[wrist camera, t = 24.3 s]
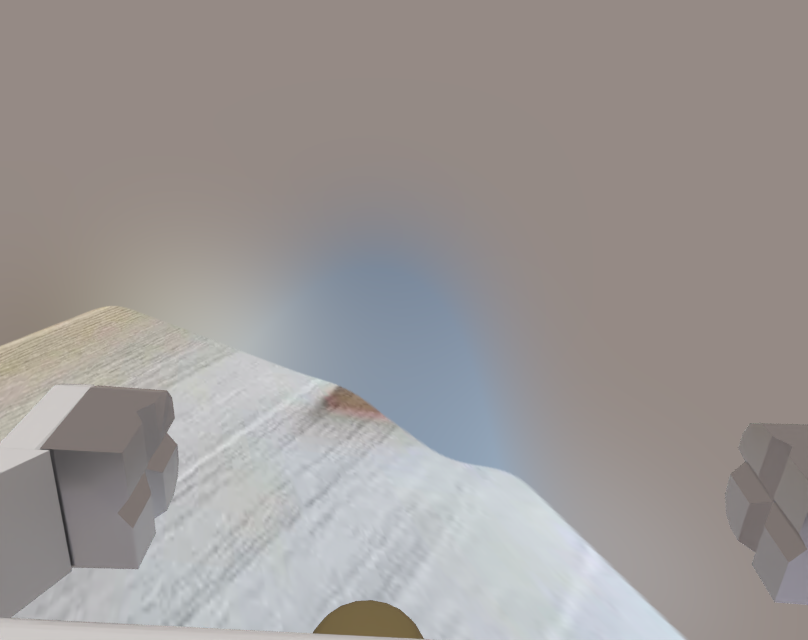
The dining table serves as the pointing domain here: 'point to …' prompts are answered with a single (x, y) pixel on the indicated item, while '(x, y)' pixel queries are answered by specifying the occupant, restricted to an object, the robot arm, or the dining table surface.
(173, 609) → the dining table surface
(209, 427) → the dining table surface
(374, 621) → the olive brown pawn
